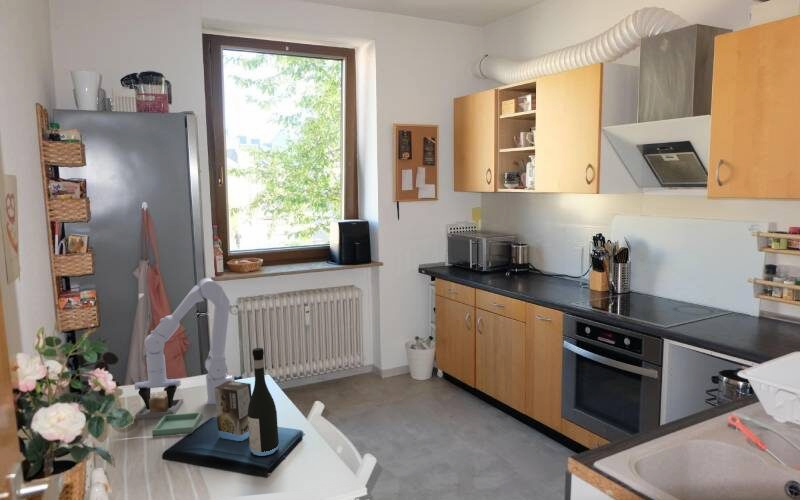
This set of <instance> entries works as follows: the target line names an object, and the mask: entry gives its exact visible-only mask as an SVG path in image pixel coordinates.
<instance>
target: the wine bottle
mask: <svg viewBox="0 0 800 500" xmlns="http://www.w3.org/2000/svg"><path fill="white" fill-rule="evenodd" d="M264 354H265V353H264V348H262V347H256V348H253V349H252V357H253V369H254V385H253V390H252V392H251V399H250V402H249V406H248V427H249V438H248V440H249V441H248V442H249V449H250V448H251V449H252V450H254V451H258V452H264V451H265V452H266V451H270V450H272V449H274V448H276V447H277V446H278V444H279V445H280V443H279V441H280V439H279V431H278V429H279V427H278V425H279V424H278V412H277V408H276V406H277V405H276V402H275V400H274V398H273V396H272V393H271V392H270V391H269V388H268V385H267V383H266V378H265V377H266V376H265V364H264V363H265V361H264Z"/></svg>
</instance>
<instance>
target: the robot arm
mask: <svg viewBox="0 0 800 500" xmlns="http://www.w3.org/2000/svg"><path fill="white" fill-rule="evenodd" d="M204 298H205V299H207V300H208V301H210V302H211V303H212V304H213V305H214V309H213V310H214V313H213V322H212V329H211V330H212V331H211V342H210V348H209V351H208V354H207V355H208V357H207V359H206V360H205V362H204V367H205V369H206V370H207V374H206V376H205V382H206V383H205V384H206V392H207V393H206V396H207V399H206V400H205V402H204V405H216V402H215V391H214V388H215V387H217V386H219V385H221V384H223V383H225V382H227V381H233V382H236V381H235V376H234V375H232V374H231V375H229V374H228V373H227V371H228V366H227V364H226V352H225V351H226V350H225V349H226V342H227V340H226V339H227V331H228V322H229V312H230V304H231V303H230V299H229V298H228V296H227V294H226V292H225V291H224V289H223V287H222V286H221V285H220V284H219V283H217V282H216V281H215V280H213V279H212V278H210V277H204V278H202V279H200V280H199V281H198V282H197V284H196V285H194V286H193V287H192V288H191V290H190V291H189V292H188V294H187V295H186V296H185V297H184V298H183V300H182V301H181V302H180V303H179V305H178V306H177V307H176V309H175V310H174V311H173V313H171V315H165V317H162V318H160V319H159V323H158V325H157V326H156V327H155V329H154V330H153V329H152V330H151V331H150V334H148V335H147V336H146V337H145V339H144V342H143V344H144V346H145V350H146V351H145V356H146V357H145V360H146V370H147V380H145V381H140V382H139V381H138V382H135V383H134V390H135V391H137V390H138V396H140V398H141V399H142V400H143V402H144V405H146V407H147V410H149V409H150V407H149V399H150V398H151V389H155V388H156V389H157V388H166V390H165V391H166V394H167V397H168V407H169V408H171V407H172V405H173V400H174V398H175V393H176V390H177V388H178V387H180V386H181V385H182V384H181V379H179V378H177V379H176V378H175V379H173V378H172V379H169V378H167V370H166V358H165V354H164V349H165V343H166V342H168V340H169V339H171V337H172V336H173V335H174V334H175V333H176V331H178V329H179V327H180V321H181V319H182V318H183V317H184V316H186V315H187V313H188V312H189V311H190V309H192V308H193V306H194V305H195V304H198V303H201V302H204V301H205V299H204Z"/></svg>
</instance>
